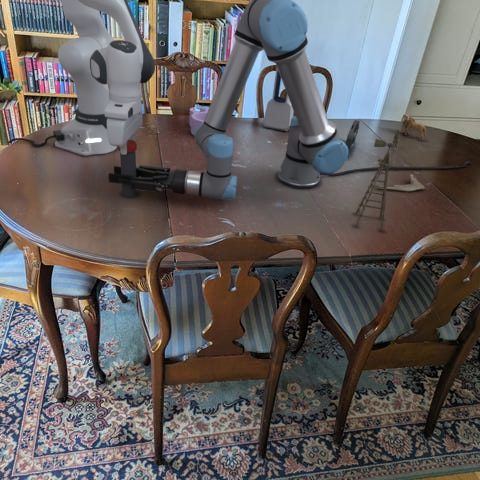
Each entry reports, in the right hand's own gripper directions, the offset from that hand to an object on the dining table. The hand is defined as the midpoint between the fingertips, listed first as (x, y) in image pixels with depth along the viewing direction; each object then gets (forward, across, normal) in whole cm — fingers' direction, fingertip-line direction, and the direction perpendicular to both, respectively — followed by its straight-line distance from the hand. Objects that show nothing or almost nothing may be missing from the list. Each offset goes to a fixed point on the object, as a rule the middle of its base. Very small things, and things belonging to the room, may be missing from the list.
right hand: (111, 174), depth 144 cm
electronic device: (-52, +78, -6) cm, 94 cm away
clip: (-20, +64, -6) cm, 67 cm away
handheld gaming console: (-83, +60, -6) cm, 102 cm away
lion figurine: (-115, +88, -6) cm, 145 cm away
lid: (-5, 0, +10) cm, 12 cm away
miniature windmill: (-81, -1, -6) cm, 81 cm away
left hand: (-5, 0, +9) cm, 10 cm away
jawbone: (-96, +30, -6) cm, 101 cm away
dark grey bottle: (-5, 0, -6) cm, 8 cm away
